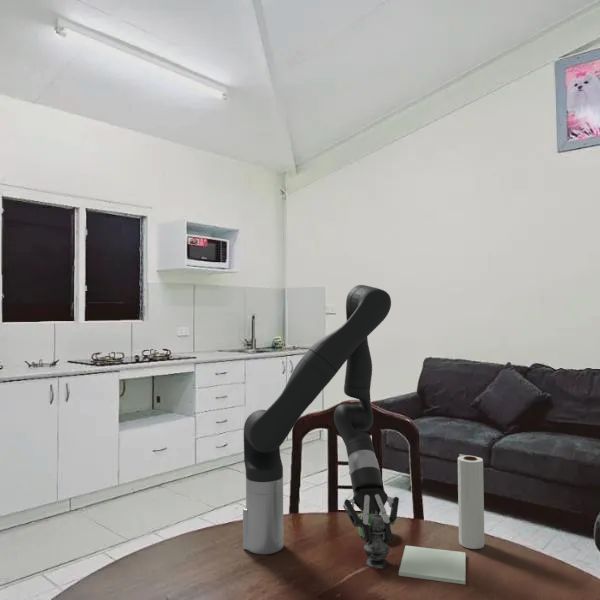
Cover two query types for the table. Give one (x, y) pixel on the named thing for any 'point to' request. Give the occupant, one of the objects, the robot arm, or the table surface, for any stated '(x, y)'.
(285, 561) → the table surface
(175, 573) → the table surface
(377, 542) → the salt shaker
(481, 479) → the paper towel roll
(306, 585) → the table surface
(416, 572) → the sage tile
